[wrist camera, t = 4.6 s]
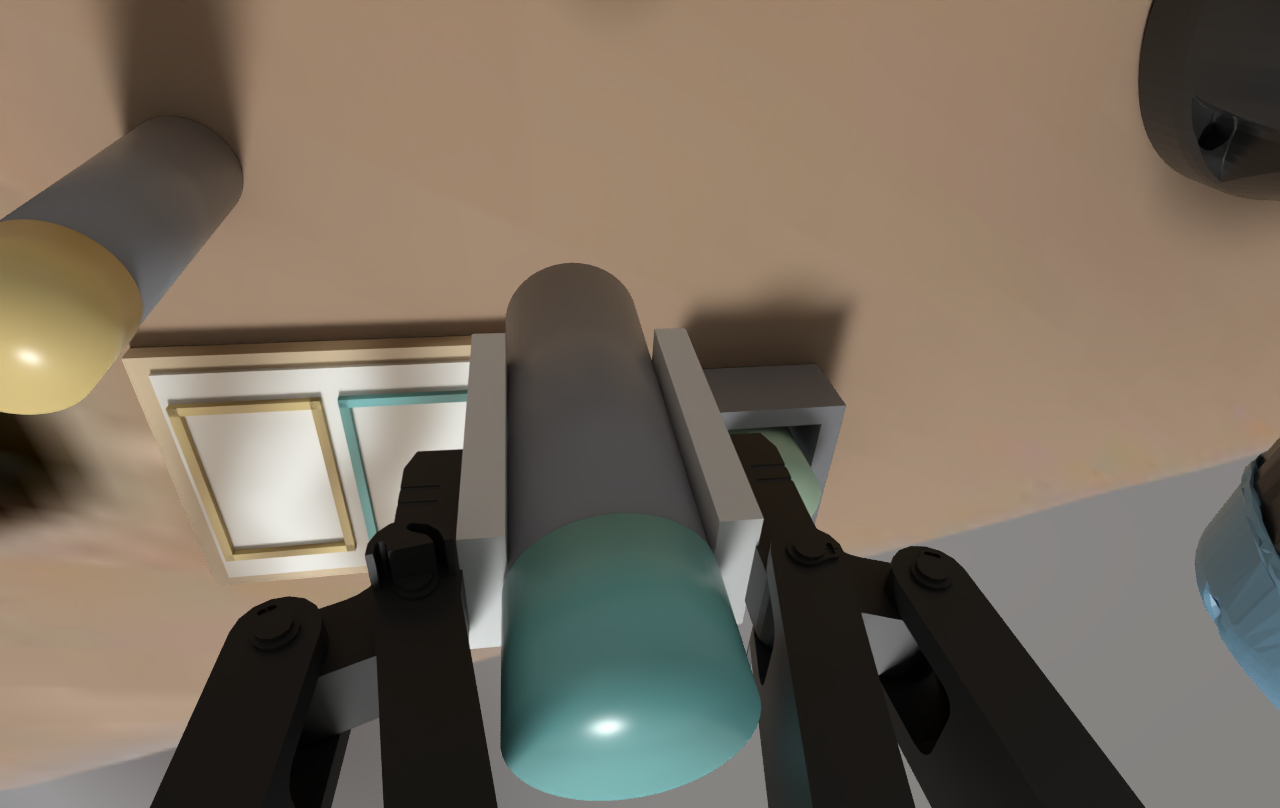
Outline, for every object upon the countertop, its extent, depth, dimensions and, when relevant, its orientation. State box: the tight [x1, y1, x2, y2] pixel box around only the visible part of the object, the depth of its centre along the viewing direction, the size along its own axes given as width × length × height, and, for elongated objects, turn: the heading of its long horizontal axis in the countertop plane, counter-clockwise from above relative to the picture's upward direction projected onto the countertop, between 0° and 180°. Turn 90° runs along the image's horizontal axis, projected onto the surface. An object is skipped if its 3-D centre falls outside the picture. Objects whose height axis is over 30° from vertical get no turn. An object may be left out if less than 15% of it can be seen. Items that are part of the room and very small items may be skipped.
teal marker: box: [501, 263, 761, 801], centre depth 15 cm, size 4×4×12 cm
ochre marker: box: [0, 116, 243, 414], centre depth 20 cm, size 4×4×12 cm
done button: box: [727, 426, 821, 517], centre depth 33 cm, size 5×5×4 cm
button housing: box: [702, 364, 846, 524], centre depth 35 cm, size 8×8×4 cm
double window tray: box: [122, 334, 506, 586], centre depth 33 cm, size 18×13×1 cm
